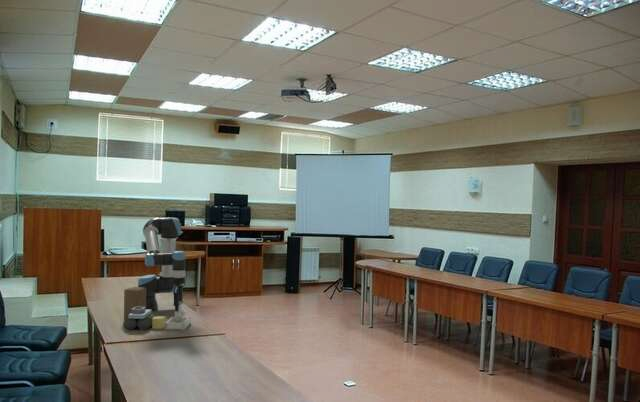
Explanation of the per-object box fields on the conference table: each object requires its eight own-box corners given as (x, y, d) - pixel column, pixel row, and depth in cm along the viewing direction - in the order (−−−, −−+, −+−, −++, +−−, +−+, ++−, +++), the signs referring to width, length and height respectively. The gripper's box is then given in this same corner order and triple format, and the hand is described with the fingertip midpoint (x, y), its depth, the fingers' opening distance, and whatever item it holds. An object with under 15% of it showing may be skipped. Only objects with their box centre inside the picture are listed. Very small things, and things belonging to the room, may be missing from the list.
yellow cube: (154, 326, 288) (154, 316, 287) (164, 326, 288) (164, 316, 288) (152, 328, 283) (152, 318, 282) (162, 328, 283) (162, 318, 283)
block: (137, 322, 296) (138, 290, 296) (123, 321, 298) (123, 289, 298) (146, 318, 305) (146, 287, 305) (132, 317, 307) (132, 286, 307)
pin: (175, 321, 289) (176, 300, 289) (181, 321, 289) (181, 300, 289) (174, 323, 286) (174, 301, 286) (180, 323, 286) (180, 301, 286)
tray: (171, 323, 295) (171, 316, 295) (190, 323, 295) (190, 317, 295) (164, 329, 280) (164, 323, 280) (184, 330, 280) (184, 323, 280)
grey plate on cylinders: (131, 323, 292) (131, 305, 292) (156, 324, 292) (156, 305, 292) (122, 330, 278) (123, 310, 278) (148, 330, 278) (149, 310, 278)
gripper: (176, 274, 296) (175, 312, 296) (168, 279, 279) (167, 318, 279) (188, 274, 296) (187, 312, 296) (181, 279, 279) (180, 319, 279)
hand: (178, 315), depth 287 cm, fingers closed on pin, 3 cm apart
